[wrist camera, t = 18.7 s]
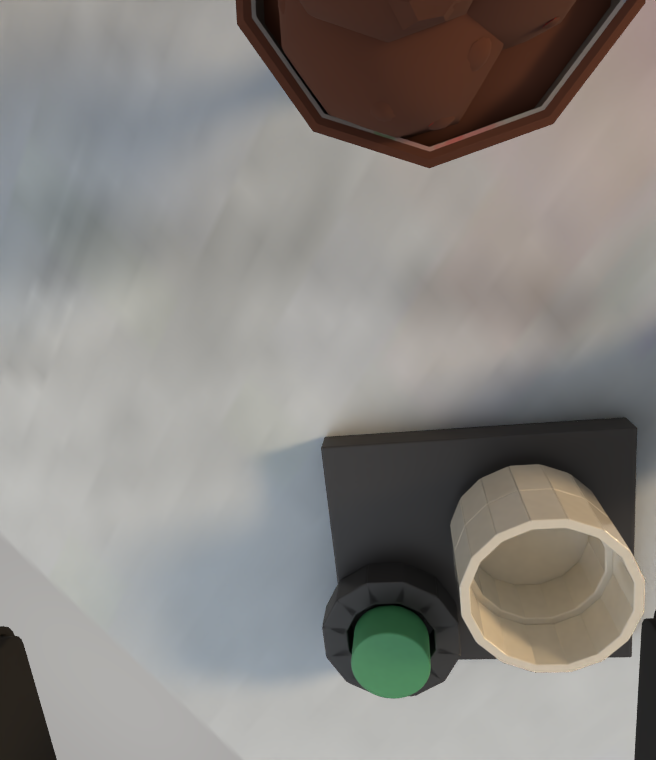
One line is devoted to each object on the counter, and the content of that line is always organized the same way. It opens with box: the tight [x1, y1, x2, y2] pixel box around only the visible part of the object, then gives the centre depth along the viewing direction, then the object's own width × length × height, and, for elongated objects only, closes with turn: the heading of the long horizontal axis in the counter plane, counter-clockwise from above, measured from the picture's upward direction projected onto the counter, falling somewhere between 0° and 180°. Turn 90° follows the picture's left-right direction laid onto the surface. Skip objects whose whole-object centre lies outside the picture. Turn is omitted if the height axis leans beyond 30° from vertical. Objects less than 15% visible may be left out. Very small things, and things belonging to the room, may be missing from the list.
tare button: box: [351, 605, 431, 698], centre depth 29 cm, size 4×4×2 cm
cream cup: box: [450, 464, 645, 673], centre depth 26 cm, size 7×7×6 cm
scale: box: [321, 418, 637, 696], centre depth 30 cm, size 15×13×3 cm
